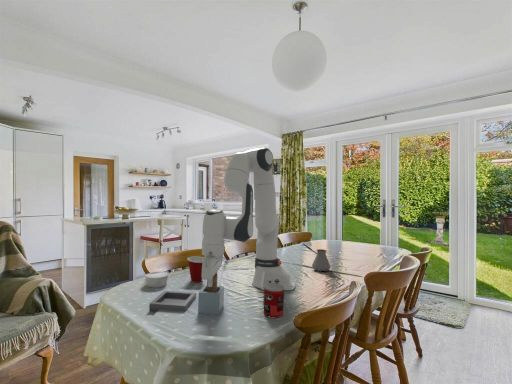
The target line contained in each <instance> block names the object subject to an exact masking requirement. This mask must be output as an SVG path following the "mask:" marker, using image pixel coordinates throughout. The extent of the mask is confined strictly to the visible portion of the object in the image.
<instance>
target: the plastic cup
mask: <svg viewBox="0 0 512 384" xmlns="http://www.w3.org/2000/svg"><path fill="white" fill-rule="evenodd" d="M204 258H205V256H204V257H203V256H198V255H197V256H196V255H195V256H190V257H187V261H188V268H189V275H190V281H191V282H193V283H199V282H200V283H201V282H202V281H203V279H202V263H203V259H204Z"/></svg>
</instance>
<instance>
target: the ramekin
mask: <svg viewBox="0 0 512 384" xmlns="http://www.w3.org/2000/svg"><path fill="white" fill-rule="evenodd" d="M144 278H145V282H146V283H145V284H146V286H147V287H149V288H162V287H165V286H166V285H167V283H168V278H169V273H168V272H166V271H152V272H149V273H146V274H145V276H144Z"/></svg>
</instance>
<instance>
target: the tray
mask: <svg viewBox="0 0 512 384" xmlns="http://www.w3.org/2000/svg"><path fill="white" fill-rule="evenodd" d="M196 298H197V292H192V291H191V292H189V291H174V290H163V292H162V293H161V292H160V294H159V295H158V296H157V297H155V298H154V299H153V300H152V301H150V303H149V309H148V310H149V312H159V311H160V310H161V311H162V310H163V311H165V310H166V311H179V312H185V311H186V310H187V309H188V308H189V307H190V305H191V304H192V303H193V302H194V301H195V300H196Z"/></svg>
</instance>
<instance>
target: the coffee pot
mask: <svg viewBox="0 0 512 384" xmlns="http://www.w3.org/2000/svg"><path fill="white" fill-rule="evenodd" d="M303 246H304V247H306V248H307V249H308V250H310V251H311V252H313V253H314V254H315V258H314V260H313V262H312V264H311V266H312V269H314V271H315V270H317V271H316V272H318V271H330V269H331V264H330V262H329V259H328V256H327V252H328V251H327V250H326V249H321V248H320V249H318V248H317V249H316V251H315V250H313V248H311V247H310V246H308V245H307V244H305V243H302V244H301V247H303Z"/></svg>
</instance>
